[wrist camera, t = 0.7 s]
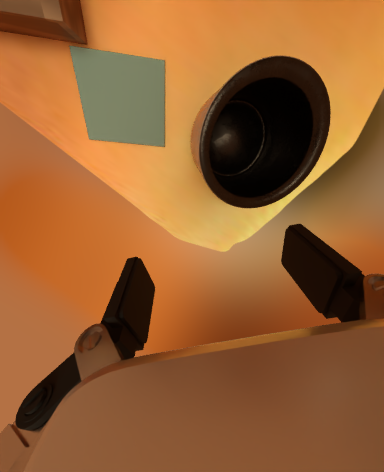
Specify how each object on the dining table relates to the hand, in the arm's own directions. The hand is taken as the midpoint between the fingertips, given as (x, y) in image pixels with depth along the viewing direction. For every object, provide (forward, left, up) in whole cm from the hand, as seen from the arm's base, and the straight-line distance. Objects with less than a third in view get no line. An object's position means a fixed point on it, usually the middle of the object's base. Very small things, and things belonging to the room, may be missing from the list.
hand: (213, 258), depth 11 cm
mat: (-10, -12, -29) cm, 33 cm away
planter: (-6, +8, -29) cm, 31 cm away
